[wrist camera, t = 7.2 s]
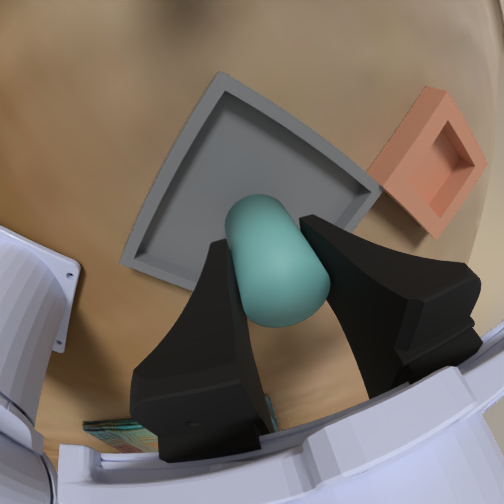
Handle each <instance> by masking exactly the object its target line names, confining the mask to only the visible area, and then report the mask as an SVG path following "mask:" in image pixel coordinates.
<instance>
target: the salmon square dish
mask: <svg viewBox="0 0 504 504" xmlns="http://www.w3.org/2000/svg"><path fill="white" fill-rule="evenodd" d="M487 164H488V163H487V161H486V159H485V157H484V155H483V153H482V151H481V149H480V147H479V145H478V143H477V141H476V139H475V137H474V135H473V133H472V131H471V129H470V128H469V126H468V124H467V122H466V121H465V119H464V117H463V115H462V114H461V112H460V110H459V109H458V107H457V106H456V104H455V102H454V101H453V99H452V98H451V96H450V95H449V93H448V92H447V91H445V90H440V89H436V88H431V87H425V89H424V90H423V92H422V93H421V95H420V96H419V98H418V99H417V101H416V102H415V104H414V105H413V107H412V108H411V110H410V111H409V113H408V114H407V116H406V117H405V119H404V120H403V121H402V123H401V124H400V126H399V127H398V129H397V130H396V132H395V133H394V134H393V136H392V137H391V139H390V140H389V142H388V143H387V144H386V146H385V147H384V149H383V150H382V151H381V153H380V154H379V156H378V157H377V158H376V160H375V161H374V163H373V164H372V165H371V167H370V168H369V170H368V171H367V172H366V173H367V174H368V175H369V176H371V177H372V178H373V179H374V180H375V181H376V182H377V183H378V184H380V185H381V186H382V187H383V188H384V192H385V193H386V194H388V195H389V196H390V197H391V198H392V199H393V200H394V201H395V202H396V203H397V204H398V205H399V206H400V207H401V208H402V209H403V210H404V211H405V212H406V213H408V214H409V215H410V216H411V217H412V218H413V219H414V220H415V221H416V222H417V223H418V225H419V226H420V227H422V228H423V229H424V230H425V231H426V232H427V233H428V234H430V235H431V236H432V237H433V238H434V239H435V240H437V238H438V237H439V236H440V234H441V233H442V232H443V230H444V229H445V228H446V226H447V225H448V224H449V222H450V221H451V219H452V218H453V217H454V215H455V214H456V212H457V211H458V210H459V208H460V207H461V205H462V204H463V202H464V201H465V199H466V198H467V196H468V195H469V193H470V192H471V190H472V189H473V187H474V185H475V184H476V182H477V181H478V179H479V177H480V176H481V174H482V173H483V171H484V169H485V168H486V166H487Z"/></svg>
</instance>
